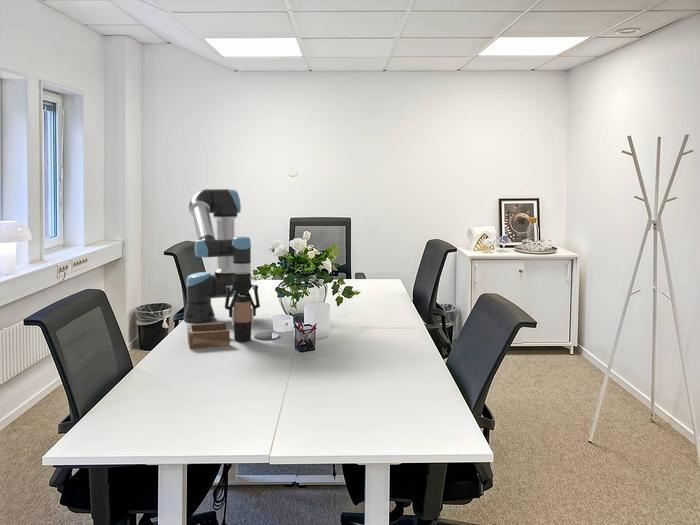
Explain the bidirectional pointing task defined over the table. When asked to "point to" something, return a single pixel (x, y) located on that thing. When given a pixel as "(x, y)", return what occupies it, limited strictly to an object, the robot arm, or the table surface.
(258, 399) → the table surface
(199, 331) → the frame
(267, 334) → the coaster
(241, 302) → the travel mug
